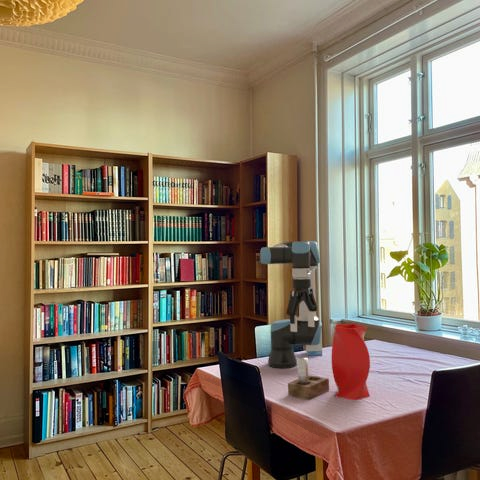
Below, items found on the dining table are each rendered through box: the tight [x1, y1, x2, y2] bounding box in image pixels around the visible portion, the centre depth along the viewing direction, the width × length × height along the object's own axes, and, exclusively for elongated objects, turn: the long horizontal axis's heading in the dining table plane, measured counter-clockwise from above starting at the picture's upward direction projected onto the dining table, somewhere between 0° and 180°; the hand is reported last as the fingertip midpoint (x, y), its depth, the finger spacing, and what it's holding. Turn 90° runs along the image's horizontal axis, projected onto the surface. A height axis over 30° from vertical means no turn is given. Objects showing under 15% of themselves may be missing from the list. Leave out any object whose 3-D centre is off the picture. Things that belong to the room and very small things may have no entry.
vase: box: [331, 323, 371, 401], centre depth 190 cm, size 15×14×28 cm
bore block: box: [287, 374, 330, 401], centre depth 193 cm, size 10×16×5 cm, turn 140°
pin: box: [297, 356, 309, 385], centre depth 190 cm, size 4×4×14 cm
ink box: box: [305, 334, 323, 356], centre depth 267 cm, size 9×8×13 cm
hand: (302, 329), depth 193 cm, fingers open, 13 cm apart
